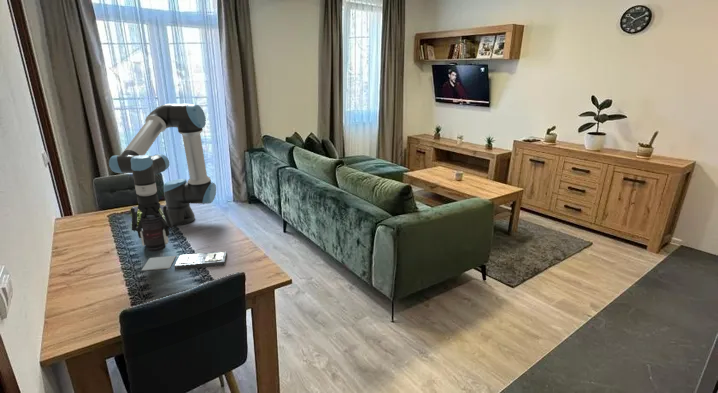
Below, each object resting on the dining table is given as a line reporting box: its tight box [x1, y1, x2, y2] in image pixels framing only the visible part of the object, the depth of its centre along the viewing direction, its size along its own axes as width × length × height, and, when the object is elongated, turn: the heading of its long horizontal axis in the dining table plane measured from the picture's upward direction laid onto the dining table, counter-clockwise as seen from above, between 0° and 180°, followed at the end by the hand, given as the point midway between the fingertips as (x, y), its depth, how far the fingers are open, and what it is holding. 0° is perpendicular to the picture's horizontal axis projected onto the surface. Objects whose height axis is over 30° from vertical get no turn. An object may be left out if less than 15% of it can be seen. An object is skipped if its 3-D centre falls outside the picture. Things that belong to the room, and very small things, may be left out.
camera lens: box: [140, 214, 166, 253], centre depth 158 cm, size 8×8×15 cm
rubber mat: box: [141, 255, 177, 272], centre depth 163 cm, size 11×11×1 cm
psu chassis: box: [173, 250, 228, 271], centre depth 164 cm, size 10×20×2 cm, turn 102°
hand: (155, 243), depth 160 cm, fingers closed on camera lens, 8 cm apart
